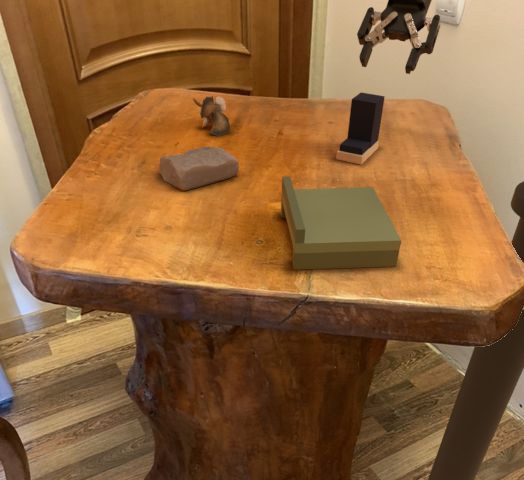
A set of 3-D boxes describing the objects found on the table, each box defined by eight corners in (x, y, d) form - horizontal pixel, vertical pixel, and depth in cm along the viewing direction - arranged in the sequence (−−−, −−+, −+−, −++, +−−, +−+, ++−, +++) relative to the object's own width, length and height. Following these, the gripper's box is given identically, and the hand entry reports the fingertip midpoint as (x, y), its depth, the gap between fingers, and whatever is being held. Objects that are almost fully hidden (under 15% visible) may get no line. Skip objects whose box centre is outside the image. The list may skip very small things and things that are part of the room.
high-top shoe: (353, 143, 108) (359, 92, 102) (377, 148, 106) (385, 96, 100) (335, 159, 102) (341, 105, 96) (361, 164, 100) (368, 110, 94)
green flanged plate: (369, 211, 87) (375, 174, 83) (396, 266, 75) (404, 226, 71) (280, 213, 86) (282, 176, 82) (293, 269, 74) (296, 229, 70)
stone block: (155, 183, 97) (183, 193, 90) (151, 155, 95) (178, 162, 88) (213, 170, 103) (243, 178, 96) (210, 143, 100) (240, 149, 93)
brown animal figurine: (184, 117, 115) (192, 123, 107) (199, 84, 113) (209, 87, 105) (215, 135, 118) (226, 142, 111) (231, 103, 116) (242, 108, 109)
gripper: (375, -33, 101) (345, 50, 101) (453, -27, 96) (421, 60, 96) (381, -3, 108) (352, 74, 108) (453, 4, 103) (423, 85, 103)
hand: (385, 67), depth 102 cm, fingers open, 8 cm apart
